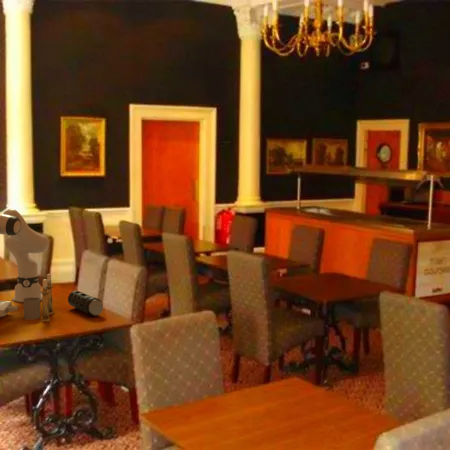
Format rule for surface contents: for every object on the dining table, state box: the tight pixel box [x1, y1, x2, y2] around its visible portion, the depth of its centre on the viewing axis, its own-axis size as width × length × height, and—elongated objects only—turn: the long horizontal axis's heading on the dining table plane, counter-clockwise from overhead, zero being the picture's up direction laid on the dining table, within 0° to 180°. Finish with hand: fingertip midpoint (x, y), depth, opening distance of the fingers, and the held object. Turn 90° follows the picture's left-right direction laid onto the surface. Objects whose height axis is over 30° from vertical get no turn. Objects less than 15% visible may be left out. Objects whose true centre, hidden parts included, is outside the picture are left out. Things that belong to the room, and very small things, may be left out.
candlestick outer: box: [40, 278, 51, 323], centre depth 360 cm, size 4×4×22 cm
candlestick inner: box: [46, 273, 55, 316], centre depth 376 cm, size 4×4×22 cm
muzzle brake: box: [67, 290, 104, 317], centre depth 380 cm, size 10×28×10 cm, turn 35°
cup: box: [23, 297, 41, 321], centre depth 368 cm, size 8×8×10 cm
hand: (17, 308), depth 367 cm, fingers closed
